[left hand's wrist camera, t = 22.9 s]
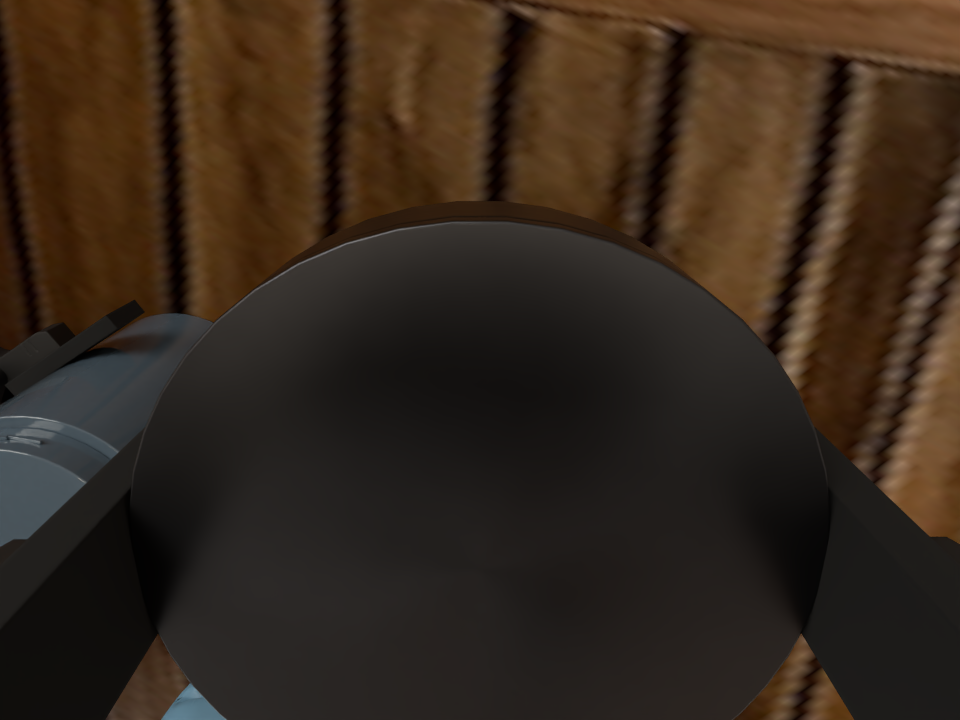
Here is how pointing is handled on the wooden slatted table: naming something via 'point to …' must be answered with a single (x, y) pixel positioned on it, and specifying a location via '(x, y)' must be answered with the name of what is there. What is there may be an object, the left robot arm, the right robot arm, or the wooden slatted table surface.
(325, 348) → the lid
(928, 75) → the wooden slatted table surface
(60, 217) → the wooden slatted table surface
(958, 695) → the left robot arm
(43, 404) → the jar
